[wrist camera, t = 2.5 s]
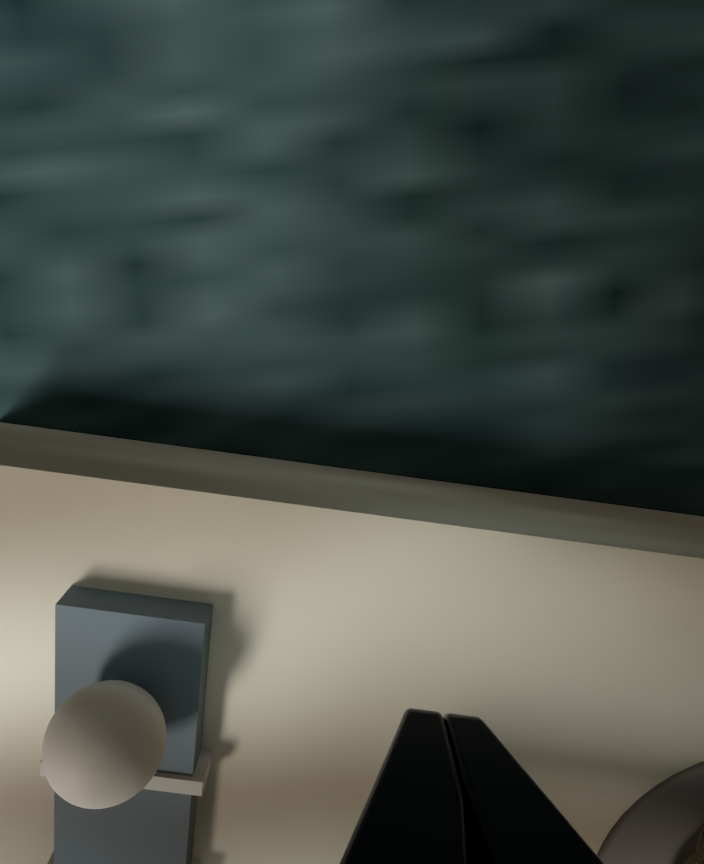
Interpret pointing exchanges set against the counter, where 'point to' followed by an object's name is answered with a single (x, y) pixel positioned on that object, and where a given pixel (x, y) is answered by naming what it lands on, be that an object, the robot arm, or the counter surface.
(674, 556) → the latch board
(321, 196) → the counter surface
